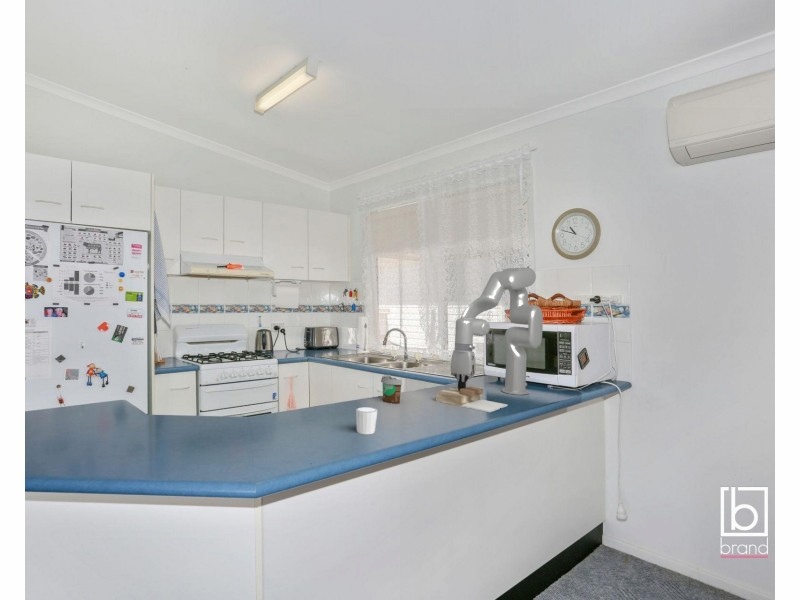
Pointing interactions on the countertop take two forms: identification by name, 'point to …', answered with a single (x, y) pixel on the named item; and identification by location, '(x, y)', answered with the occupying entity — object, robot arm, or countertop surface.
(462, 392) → the walnut tile
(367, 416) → the white fluted cup
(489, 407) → the white folded cloth
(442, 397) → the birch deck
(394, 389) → the food container
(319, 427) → the countertop surface
